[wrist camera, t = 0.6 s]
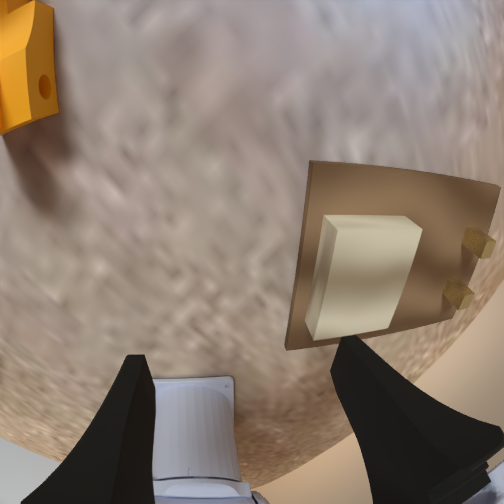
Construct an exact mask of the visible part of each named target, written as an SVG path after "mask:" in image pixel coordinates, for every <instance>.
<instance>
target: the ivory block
mask: <svg viewBox="0 0 504 504" xmlns="http://www.w3.org/2000/svg"><path fill="white" fill-rule="evenodd" d="M422 230H423V229H422V228H420V227H419V226H418V225H416V224H415V223H414V222H412V221H411V220H410V219H408V218H407V217H406V216H384V215H324V216H323V223H322V229H321V235H320V242H319V248H318V254H317V259H316V265H315V271H314V276H313V282H312V287H311V292H310V298H309V303H308V308H307V313H306V318H305V322H306V325H307V327H308V329H309V332H310V334H311V336H312V339H313V341H315V340H322V339H329V338H335V337H342V336H348V335H354V334H360V333H365V332H371V331H376V330H381V329H386V328H388V327H389V324H390V322H391V319H392V317H393V315H394V312H395V310H396V307H397V304H398V302H399V299H400V297H401V294H402V291H403V289H404V286H405V283H406V280H407V277H408V274H409V272H410V269H411V266H412V263H413V259H414V256H415V253H416V250H417V247H418V243H419V240H420V237H421V233H422Z"/></svg>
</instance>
